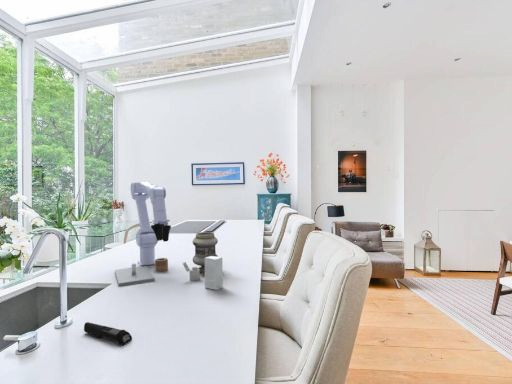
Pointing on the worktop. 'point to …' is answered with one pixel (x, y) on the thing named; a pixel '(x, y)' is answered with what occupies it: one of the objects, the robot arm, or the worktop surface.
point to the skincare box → (213, 272)
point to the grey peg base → (133, 275)
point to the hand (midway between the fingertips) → (163, 240)
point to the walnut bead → (161, 264)
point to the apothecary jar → (204, 248)
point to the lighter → (193, 272)
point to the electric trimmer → (108, 333)
